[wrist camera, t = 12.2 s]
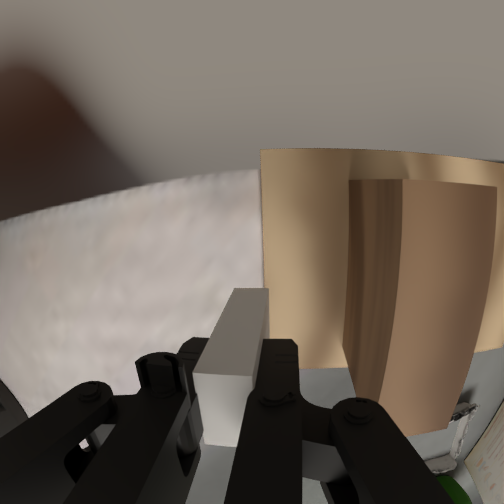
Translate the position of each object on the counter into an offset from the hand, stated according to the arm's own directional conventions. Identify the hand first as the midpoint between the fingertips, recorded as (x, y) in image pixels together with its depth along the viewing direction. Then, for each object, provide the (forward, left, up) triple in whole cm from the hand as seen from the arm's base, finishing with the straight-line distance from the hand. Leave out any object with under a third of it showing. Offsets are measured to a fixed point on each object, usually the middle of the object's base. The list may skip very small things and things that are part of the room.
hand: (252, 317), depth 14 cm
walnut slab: (+8, 0, -8) cm, 11 cm away
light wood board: (+11, 0, -9) cm, 14 cm away
